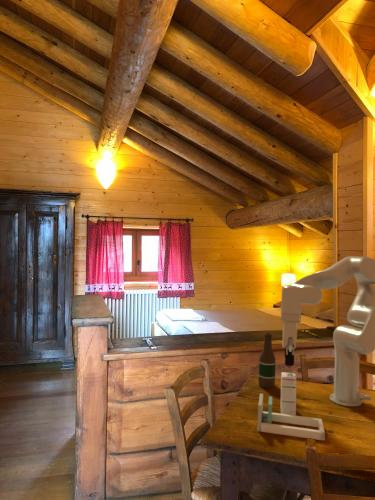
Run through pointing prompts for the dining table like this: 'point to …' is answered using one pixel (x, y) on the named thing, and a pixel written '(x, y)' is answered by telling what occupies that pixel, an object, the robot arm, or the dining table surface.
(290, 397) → the syrup box
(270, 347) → the beer bottle
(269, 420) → the plate
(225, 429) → the dining table surface
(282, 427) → the white angular frame
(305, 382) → the dining table surface
